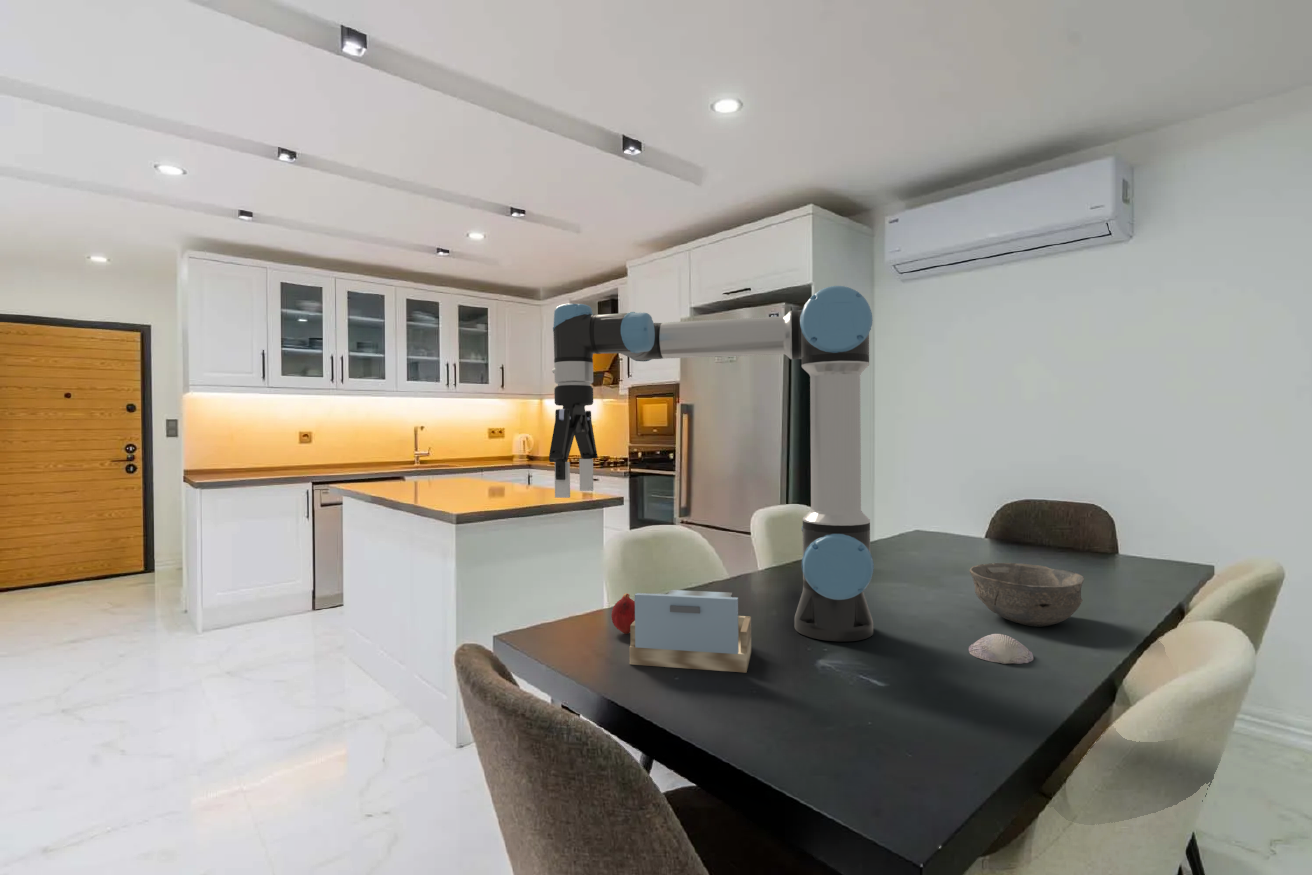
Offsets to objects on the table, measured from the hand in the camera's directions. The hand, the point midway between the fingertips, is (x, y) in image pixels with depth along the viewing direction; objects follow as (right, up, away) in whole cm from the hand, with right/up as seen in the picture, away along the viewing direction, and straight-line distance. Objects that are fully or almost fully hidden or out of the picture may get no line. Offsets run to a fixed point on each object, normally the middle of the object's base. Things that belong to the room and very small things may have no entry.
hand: (575, 494), depth 127 cm
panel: (+21, -25, -18) cm, 37 cm away
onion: (+10, -28, +2) cm, 30 cm away
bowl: (+92, -27, +7) cm, 96 cm away
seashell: (+77, -28, -13) cm, 82 cm away
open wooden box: (+23, -28, -9) cm, 37 cm away
